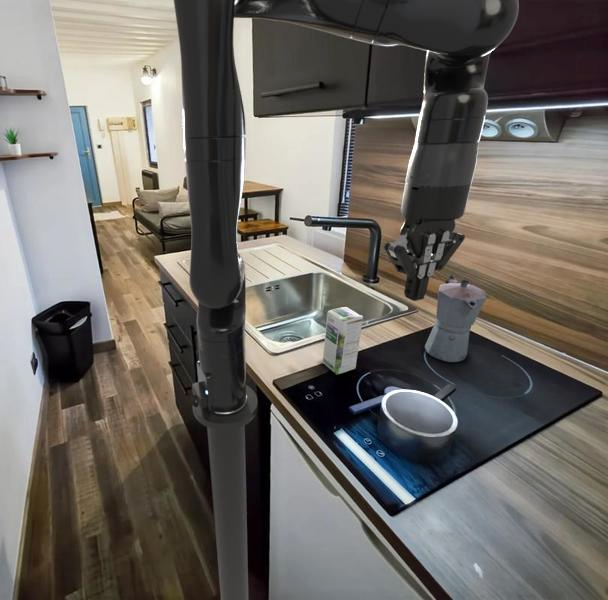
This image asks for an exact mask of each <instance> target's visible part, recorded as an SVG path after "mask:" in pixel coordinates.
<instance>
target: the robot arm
mask: <svg viewBox="0 0 608 600" xmlns="http://www.w3.org/2000/svg"><path fill="white" fill-rule="evenodd" d="M519 3H520V1H519V0H173V5H174V13H175V20H176V21H175V22H176V28H177V35H178V43H179V53H180V54H179V55H180V73H181V75H180V76H181V98H182V116H183V117H182V118H183V119H182V122H183V123H182V125H183V149H184V166H185V167H184V168H185V176H186V186H187V187H186V189H187V199H188V200H187V201H188V208H189V215H190V225H191V226H190V227H191V239H190V240H191V241H190V243H191V244H190V263H189V275H188V283H189V288H190V291H191V293H192V295H193V297H194V298H195V299H196V301H197V311H196V312H197V313H196V320H195V321H196V335H197V347H198V348H197V349H198V358H199V360H197V361H196V371H197V382H195V383H192V384H191V390H192V395H193V396H192V397H191V399H190V404H191V406H192V405H193V406H194V407H198V405H199V407H200V409H203V408H205V409H206V411H207V412H208V414H209V416H211V415H219V416H229V415H233V414H236V413H238V412H240V411H241V410H242V409H243V408H244V407H245V406H246V403H247V393H246V385H247V364H246V363H247V362H246V361H247V360H246V359H247V358H246V356H247V355H246V311H247V301H246V300H247V299H246V297H247V294H246V292H247V291H246V289H247V288H246V287H247V286H246V285H247V283H246V282H247V279H246V265H245V261H244V259H243V257H242V256H241V254H240V253H239V248H238V246H239V245H238V224H239V223H238V222H239V215H240V209H241V204H242V197H243V190H244V184H245V183H244V181H245V171H246V140H247V139H246V135H247V129H246V128H247V127H246V115H245V109H244V108H245V107H244V102H243V97H242V91H241V87H240V83H239V82H240V81H239V76H238V72H237V67H236V60H235V48H234V28H235V25H234V24H235V19H260V20H269V21H277V22H282V23H288V24H292V25H297V26H301V27H305V28H309V29H313V30H316V31H319V32H323V33H328V34H330V35H334V36H337V37H342V38H344V39H349V40H354V41H357V42H361V43H366V44H369V45H374V46H378V47H379V46H380V47H384V48H392V47H398V46H404V47H409V48H413V49H416V50H417V49H418V50H421V51H426V55H425V64H424V77H423V95H422V102H421V103H422V104H421V106H420V110H419V111H420V112H419V114H418V120H417V125H416V132H415V137H414V144H413V148H412V150H411V154H410V157H409V161H408V165H407V166H408V167H407V171H406V177H405V181H404V182H405V184H404V188H403V194H402V200H401V206H400V213H401V214H402V216H403V218H404V222H403V224H402V226H401V228H400V229H399V230H400V231H399V236H398V237H397V238H396V239H395V241H393V242H389V241H388V242H386V243H385V245H384V248H383V249H384V251H385V252H386V254H387V256H388V258H389V261H390V262H391V263H392V265H393V267H394V269H395V271H396V272H397V273H400V274H402V275H405V276H406V279H405V285H404V290H403V293H404V297H405V298H407V299H409V300H411V301H413V302H417V301H421V300H424V299H425V297H426V293H427V290H428V285H429V282H430V277H432V276H433V275H434V272H435V271H443V269H444V267H445V266H446V265H447V263H448V262H449V260H451V258H452V257H453V255H454V254H455V253H456V251H457V250H458V249H459V248H460V246H461V245H462V244H463V242H464V240H465V238H466V236H465V234H463V233H458V232H457V231H456V225H457V224H456V220H458V219H460V218H462V217H463V216H464V215H465V212H466V209H467V208H466V207H467V205H468V201H469V196H470V192H471V189H472V188H471V187H472V183H473V179H474V174H475V170H476V166H477V162H478V155H479V154H478V152H479V146H480V145H479V144H480V140H481V136H482V133H483V127H484V125H485V119H486V115H487V110H488V104H489V94H488V92H487V90H486V88H485V82H486V77H487V71H488V68H489V67H488V66H489V61H490V58H491V57H490V56H491V53H492V51H494V50H495V49H497V48H498V47H499V46H500V45H501V44H502V43H503V42H504V41H505V39H506V38H508V37H509V35H510V33H511V32H512V30H513V28H514V26H515V24H516V22H517V20H518V16H519V10H520V4H519ZM195 401H197V403H198V404H197V403H196V402H195Z"/></svg>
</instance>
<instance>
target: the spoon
mask: <svg viewBox="0 0 608 600" xmlns="http://www.w3.org/2000/svg"><path fill="white" fill-rule="evenodd" d="M395 390H404V388H401V387H398V386H387V387H386V388H385V389H384V392H383V395H380V396H377V397H373V398H371V399H368V400H365V401H363V402H359V403H357V404H354V405H351V406H348V411H349V412H351V414H353V415H357V414H360V413H364V412H367V411H369V410H371V409H375V408H378V407H381V403H382V399H383V397H384V396H385V395H386V394H388V393H389V392H392V391H395Z"/></svg>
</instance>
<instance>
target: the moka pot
mask: <svg viewBox="0 0 608 600" xmlns="http://www.w3.org/2000/svg"><path fill="white" fill-rule="evenodd" d="M444 282H445V283H442V284H440V285H439V288H438V294H437V302H436V303H437V304H436V314H435V318H436V319H435V323H434V325H433V327H432V329H431V331H430V334H429V336H428V338H427V340H426V342H425V345H424V349H425V351H426V352H427V354H429V356H431V357H433V358H434V359H437V360H439V361H443V362H446V363H447V362H448V363H459V362H462V361H464V360H465V359H466V357H467V355H468V350H469V339H470V331H471V328H472V326H474V324H475V322H476V321H477V318H478V316H479V314H480V312H481V310H482V308H483V306H484V304H485V303H486V299H487V291H485V290H484V289H482V288H479V287H478V286H476V285H473V284H469V283H470V281H469V280H468V279H461V280H460V281H459V280H458V279H455V278H454V276H453V275H449V277H448V278H446V279H445V281H444Z"/></svg>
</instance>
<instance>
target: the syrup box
mask: <svg viewBox="0 0 608 600" xmlns="http://www.w3.org/2000/svg"><path fill="white" fill-rule="evenodd" d="M363 321H364V316H363V315H361V314H358V312H356V311H354V310H353V309H350V308H349V307H347V306H344V307H337V308H334V309H330V310H327V314H326V323H325V333H324V334H325V335H324V343H323V352H322V353H323V354H322V364H323V365H325V366H326V367H327V368H328V369H329V370H331V371H332V372H333V373H334V374H335V375H341V374H344V373H347V372H349V371H353V370H355V369H356V367H357V360H358V354H359V346H360V341H361V333H362V327H363Z"/></svg>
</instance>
